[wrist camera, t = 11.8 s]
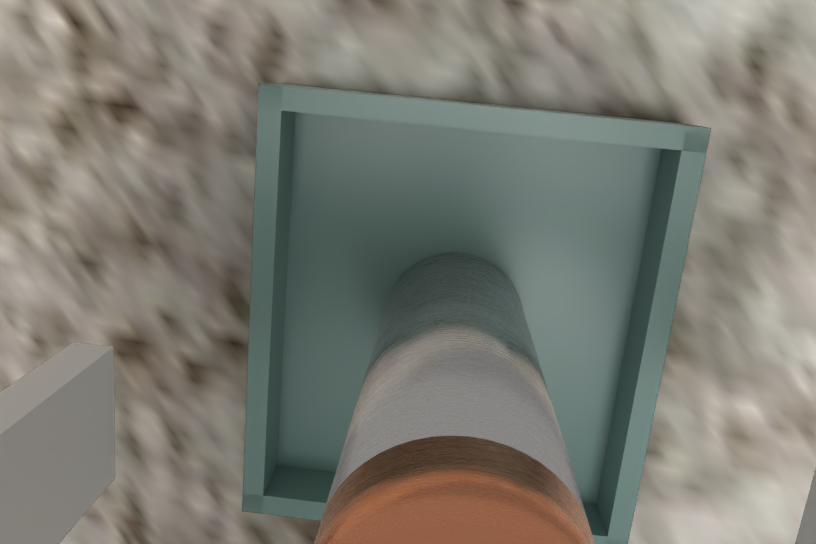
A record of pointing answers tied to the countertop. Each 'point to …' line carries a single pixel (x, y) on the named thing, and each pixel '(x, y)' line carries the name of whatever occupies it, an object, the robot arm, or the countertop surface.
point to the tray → (468, 233)
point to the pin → (454, 423)
